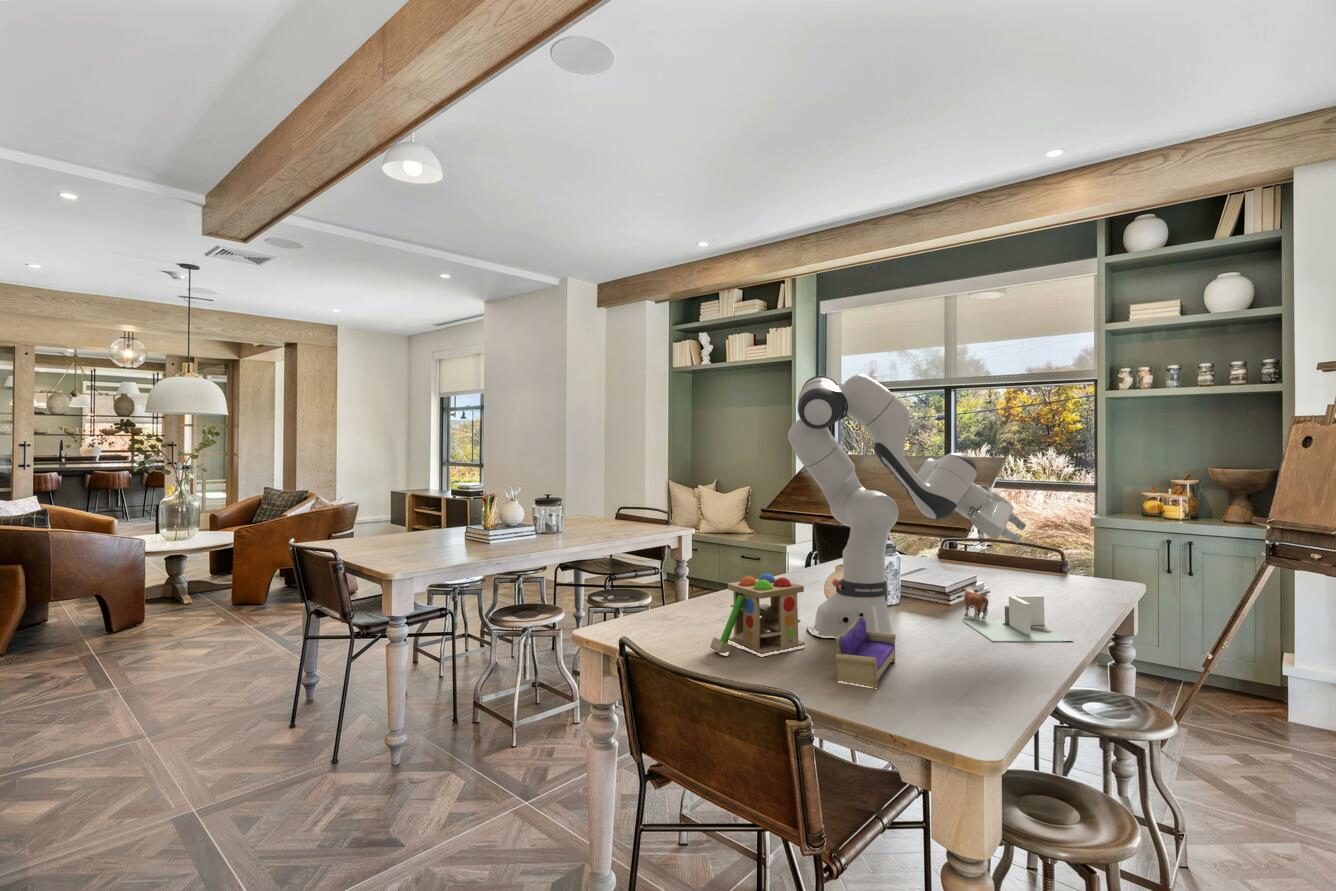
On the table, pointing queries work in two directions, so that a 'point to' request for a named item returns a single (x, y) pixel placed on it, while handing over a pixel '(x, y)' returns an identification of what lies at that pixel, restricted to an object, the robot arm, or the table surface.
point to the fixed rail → (1031, 609)
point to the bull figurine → (975, 602)
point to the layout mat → (1015, 632)
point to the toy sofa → (863, 654)
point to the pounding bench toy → (762, 615)
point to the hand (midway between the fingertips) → (1022, 533)
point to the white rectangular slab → (1019, 615)
